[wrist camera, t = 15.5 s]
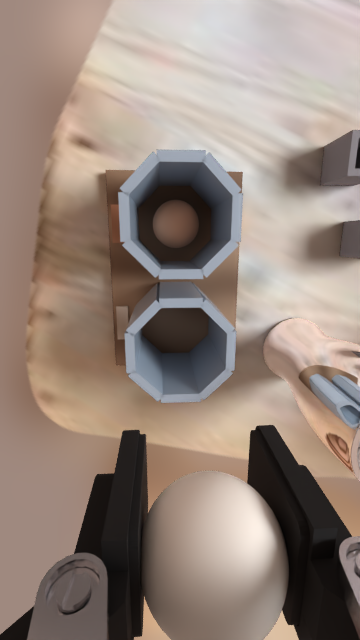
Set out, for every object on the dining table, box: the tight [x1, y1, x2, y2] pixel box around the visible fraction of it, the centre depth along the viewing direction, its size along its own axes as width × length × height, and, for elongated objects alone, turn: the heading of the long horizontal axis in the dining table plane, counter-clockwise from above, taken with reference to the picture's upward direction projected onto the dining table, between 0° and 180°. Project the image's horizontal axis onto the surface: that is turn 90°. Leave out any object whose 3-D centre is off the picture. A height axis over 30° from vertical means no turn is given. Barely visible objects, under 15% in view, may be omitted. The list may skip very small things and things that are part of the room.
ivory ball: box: [141, 471, 289, 640], centre depth 8 cm, size 4×4×4 cm
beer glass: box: [263, 318, 360, 482], centre depth 23 cm, size 7×7×15 cm
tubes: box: [118, 150, 243, 403], centre depth 23 cm, size 16×7×8 cm, turn 0°
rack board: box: [106, 170, 243, 365], centre depth 27 cm, size 17×11×1 cm, turn 0°
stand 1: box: [320, 130, 360, 186], centre depth 24 cm, size 3×3×4 cm
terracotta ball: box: [153, 200, 199, 248], centre depth 24 cm, size 4×4×4 cm
